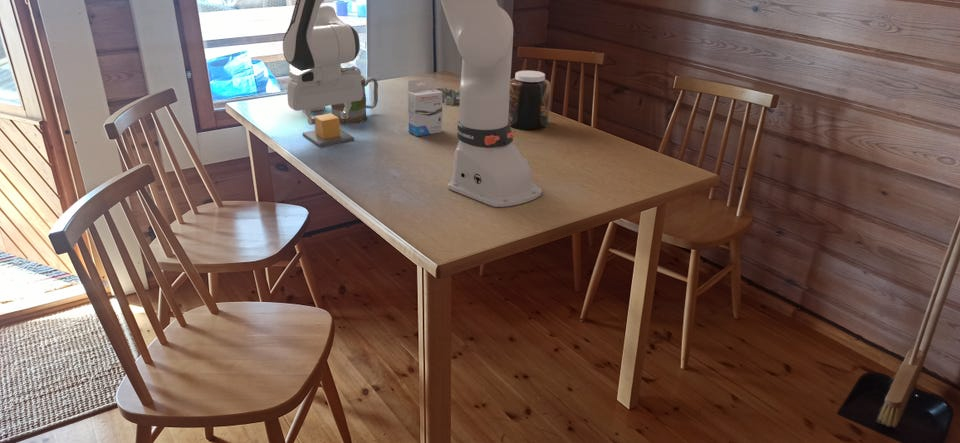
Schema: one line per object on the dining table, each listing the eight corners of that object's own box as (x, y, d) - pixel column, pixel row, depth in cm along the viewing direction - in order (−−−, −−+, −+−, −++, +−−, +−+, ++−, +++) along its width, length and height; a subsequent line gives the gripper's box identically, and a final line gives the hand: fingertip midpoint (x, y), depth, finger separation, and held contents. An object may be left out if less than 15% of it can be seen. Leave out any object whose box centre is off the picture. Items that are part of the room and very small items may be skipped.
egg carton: (466, 104, 217) (467, 91, 215) (445, 106, 214) (445, 94, 212) (452, 95, 226) (452, 83, 224) (432, 98, 222) (432, 85, 221)
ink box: (416, 137, 186) (415, 84, 179) (408, 132, 189) (406, 80, 183) (443, 132, 190) (443, 80, 184) (434, 127, 194) (433, 76, 187)
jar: (518, 132, 191) (521, 80, 185) (500, 120, 201) (502, 70, 194) (554, 128, 196) (558, 76, 189) (535, 116, 205) (538, 67, 199)
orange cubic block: (340, 135, 183) (339, 118, 181) (323, 139, 180) (321, 121, 178) (332, 130, 186) (331, 113, 184) (315, 133, 184) (314, 116, 181)
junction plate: (354, 140, 182) (353, 124, 180) (319, 146, 177) (318, 131, 175) (336, 129, 190) (335, 114, 188) (302, 135, 185) (301, 120, 183)
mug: (342, 126, 193) (339, 85, 187) (323, 117, 200) (320, 77, 195) (388, 116, 202) (387, 77, 197) (368, 108, 209) (366, 70, 204)
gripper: (354, 62, 183) (358, 112, 189) (282, 72, 173) (288, 124, 179) (365, 67, 179) (368, 117, 185) (291, 77, 168) (297, 130, 174)
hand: (328, 121), depth 182 cm, fingers open, 8 cm apart
